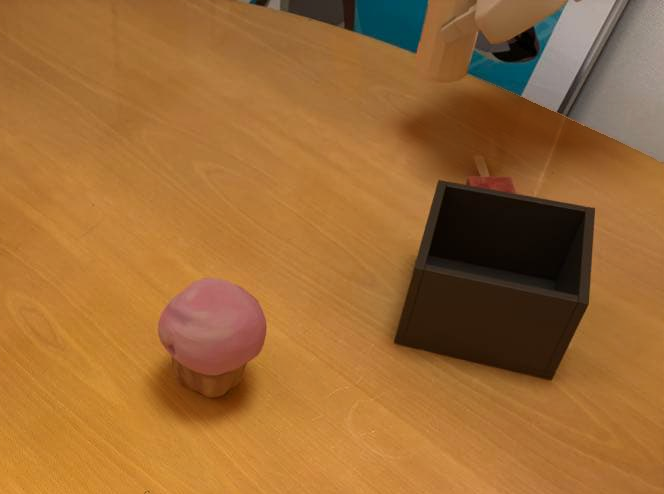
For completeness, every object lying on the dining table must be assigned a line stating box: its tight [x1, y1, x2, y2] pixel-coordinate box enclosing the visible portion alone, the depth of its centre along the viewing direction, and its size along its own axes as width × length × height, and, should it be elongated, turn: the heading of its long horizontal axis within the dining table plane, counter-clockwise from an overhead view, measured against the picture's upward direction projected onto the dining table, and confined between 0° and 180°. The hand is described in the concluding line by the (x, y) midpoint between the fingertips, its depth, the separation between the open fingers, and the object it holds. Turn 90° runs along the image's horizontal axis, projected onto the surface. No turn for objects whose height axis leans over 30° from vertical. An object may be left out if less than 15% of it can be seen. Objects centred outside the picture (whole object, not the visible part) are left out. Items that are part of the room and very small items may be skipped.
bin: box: [393, 179, 596, 381], centre depth 78 cm, size 14×14×9 cm
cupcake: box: [157, 277, 267, 399], centre depth 73 cm, size 9×9×10 cm
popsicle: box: [465, 155, 517, 194], centre depth 92 cm, size 4×2×15 cm
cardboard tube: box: [413, 0, 480, 84], centre depth 93 cm, size 6×6×10 cm
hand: (446, 21), depth 93 cm, fingers closed on cardboard tube, 6 cm apart
